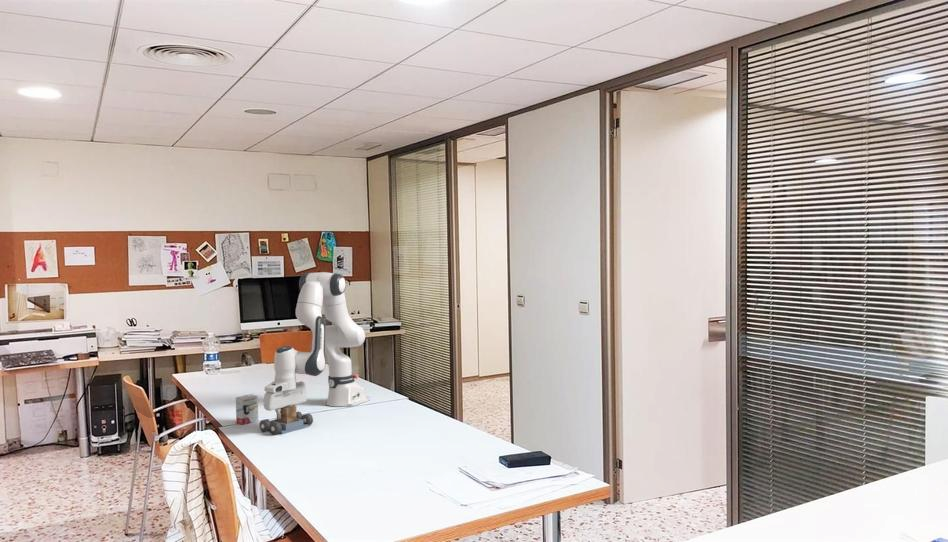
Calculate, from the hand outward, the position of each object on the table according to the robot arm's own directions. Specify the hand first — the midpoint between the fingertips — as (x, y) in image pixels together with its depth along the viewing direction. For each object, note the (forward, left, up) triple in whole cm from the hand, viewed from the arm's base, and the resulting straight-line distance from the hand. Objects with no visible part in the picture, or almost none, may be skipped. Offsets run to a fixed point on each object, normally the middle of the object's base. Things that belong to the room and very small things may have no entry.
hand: (286, 416), depth 291 cm
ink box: (+3, -24, -5) cm, 25 cm away
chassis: (0, 0, -5) cm, 5 cm away
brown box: (0, 0, -3) cm, 3 cm away
